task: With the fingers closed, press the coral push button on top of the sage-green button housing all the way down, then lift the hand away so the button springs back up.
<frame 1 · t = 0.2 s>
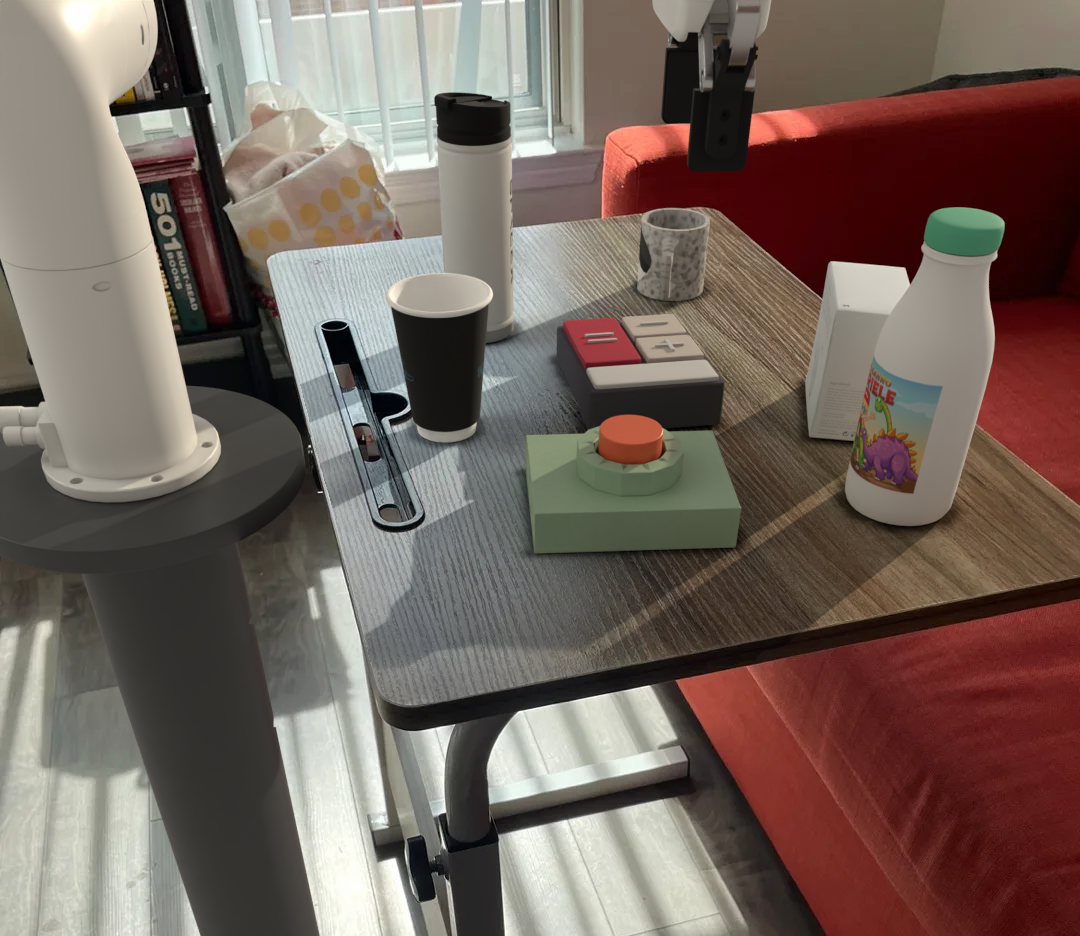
hand: (700, 144, 65), 24 cm above the table, tool pointing down, fingers open, 9 cm apart
travel mug: (479, 333, 104), on the table
milk bottle: (895, 503, 82), on the table
calculator: (634, 392, 95), on the table
dixie cup: (447, 430, 90), on the table
button housing: (626, 508, 81), on the table
push button: (630, 440, 77), point 5 cm above the table, slide at 0.1 cm
cosmetics box: (845, 414, 92), on the table
mug: (667, 296, 111), on the table
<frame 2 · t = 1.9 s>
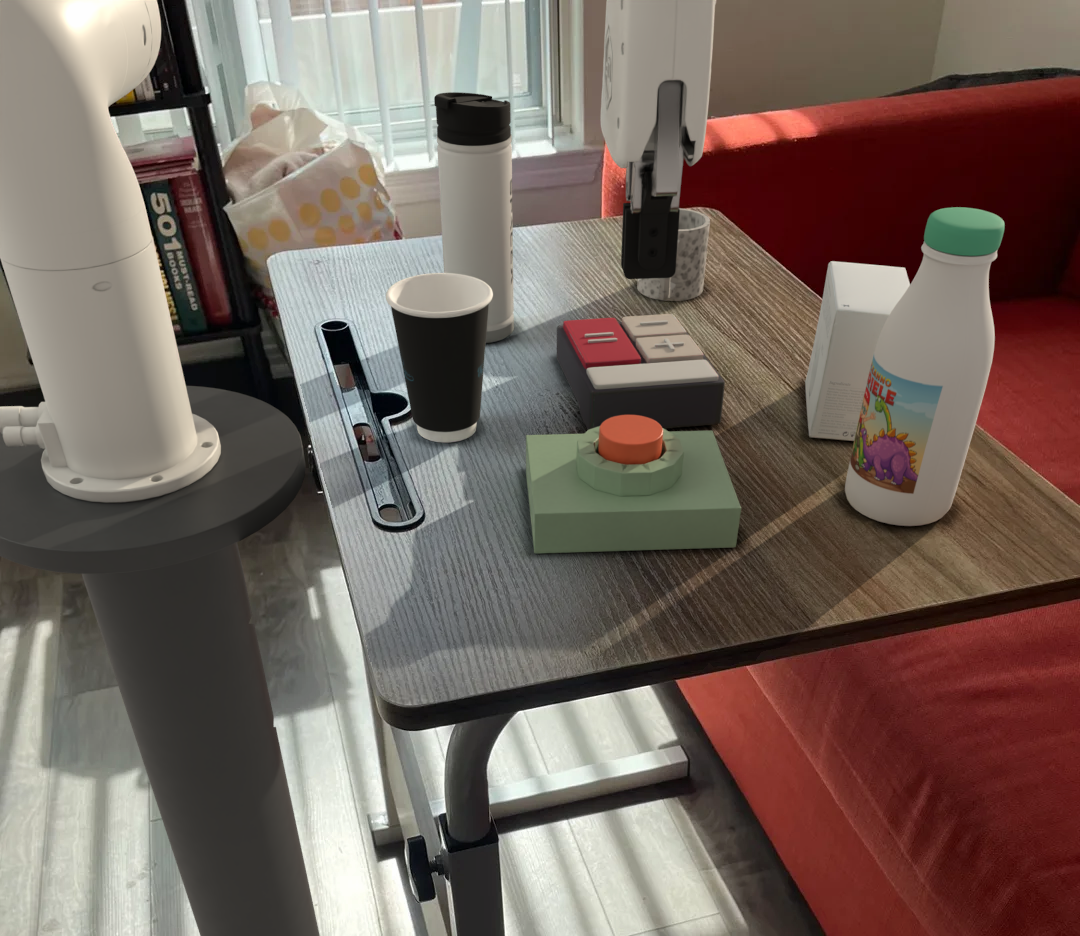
hand: (647, 273, 69), 17 cm above the table, tool pointing down, fingers closed
nothing on the table moved.
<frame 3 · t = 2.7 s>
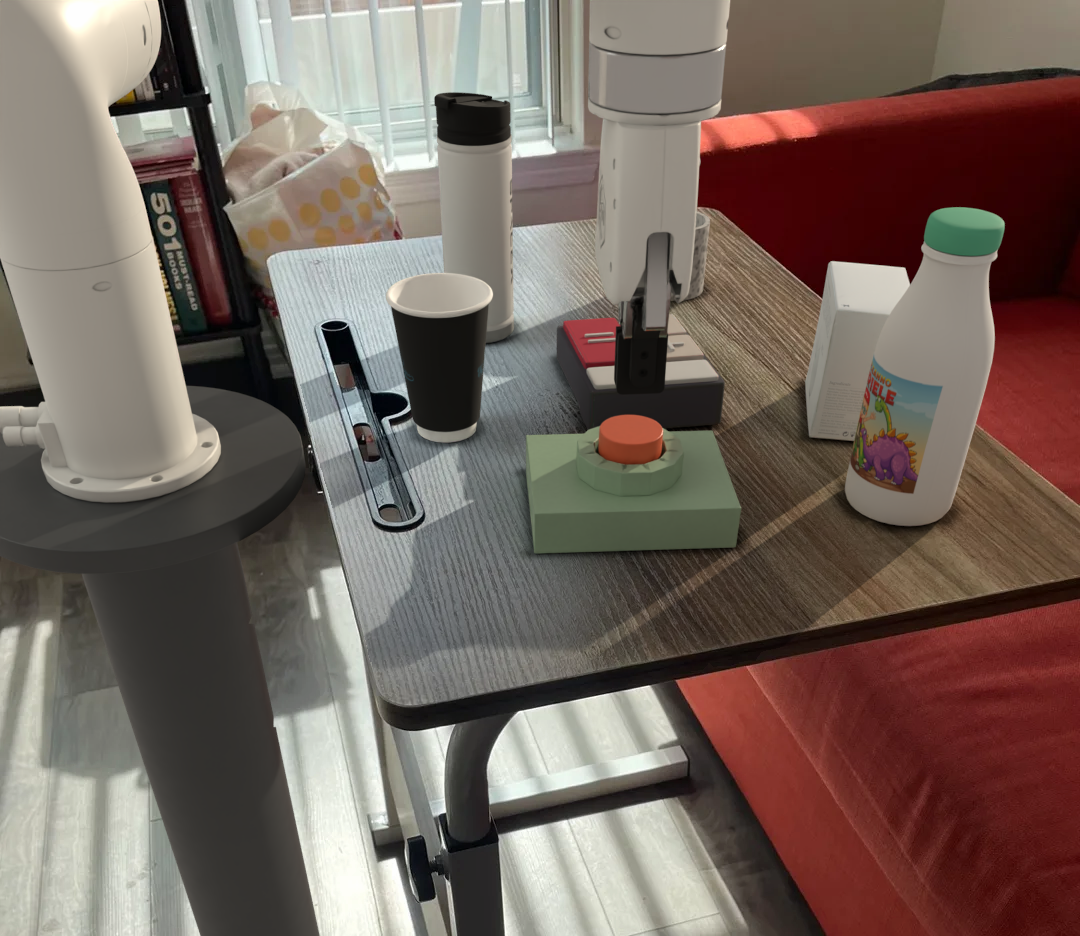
hand: (638, 388, 74), 9 cm above the table, tool pointing down, fingers closed
nothing on the table moved.
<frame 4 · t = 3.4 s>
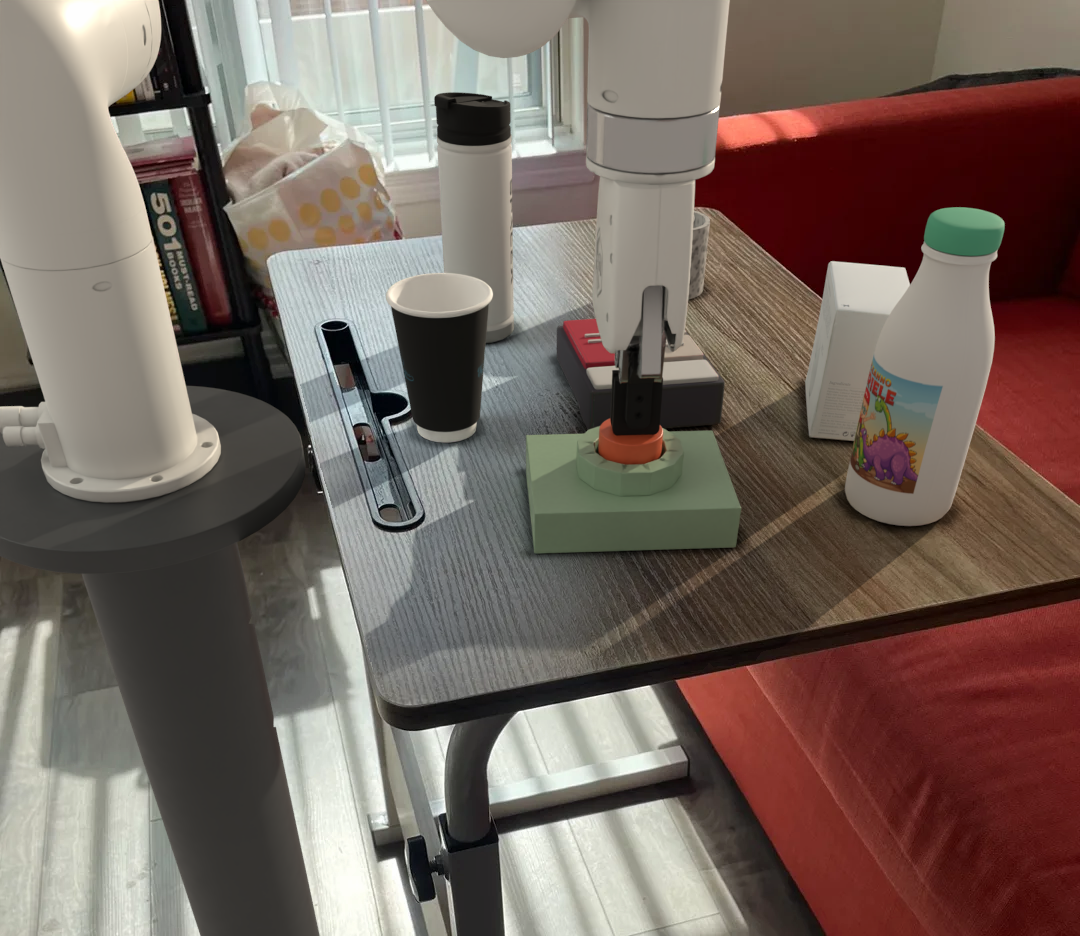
hand: (634, 429, 76), 6 cm above the table, tool pointing down, fingers closed
push button: (630, 441, 77), point 5 cm above the table, slide at 0.0 cm, touching gripper
everything else where it was.
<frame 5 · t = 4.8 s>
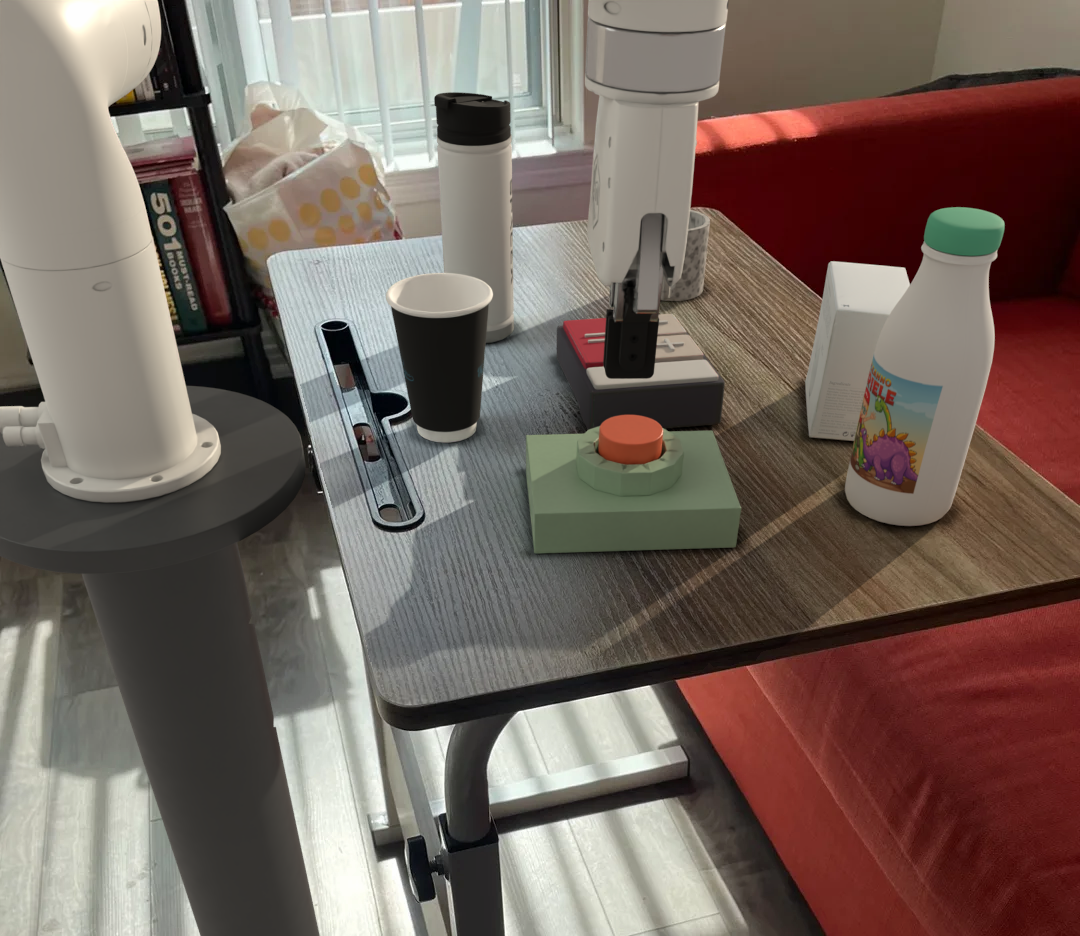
hand: (627, 372, 74), 10 cm above the table, tool pointing down, fingers closed
push button: (630, 440, 77), point 5 cm above the table, slide at 0.1 cm
everything else where it was.
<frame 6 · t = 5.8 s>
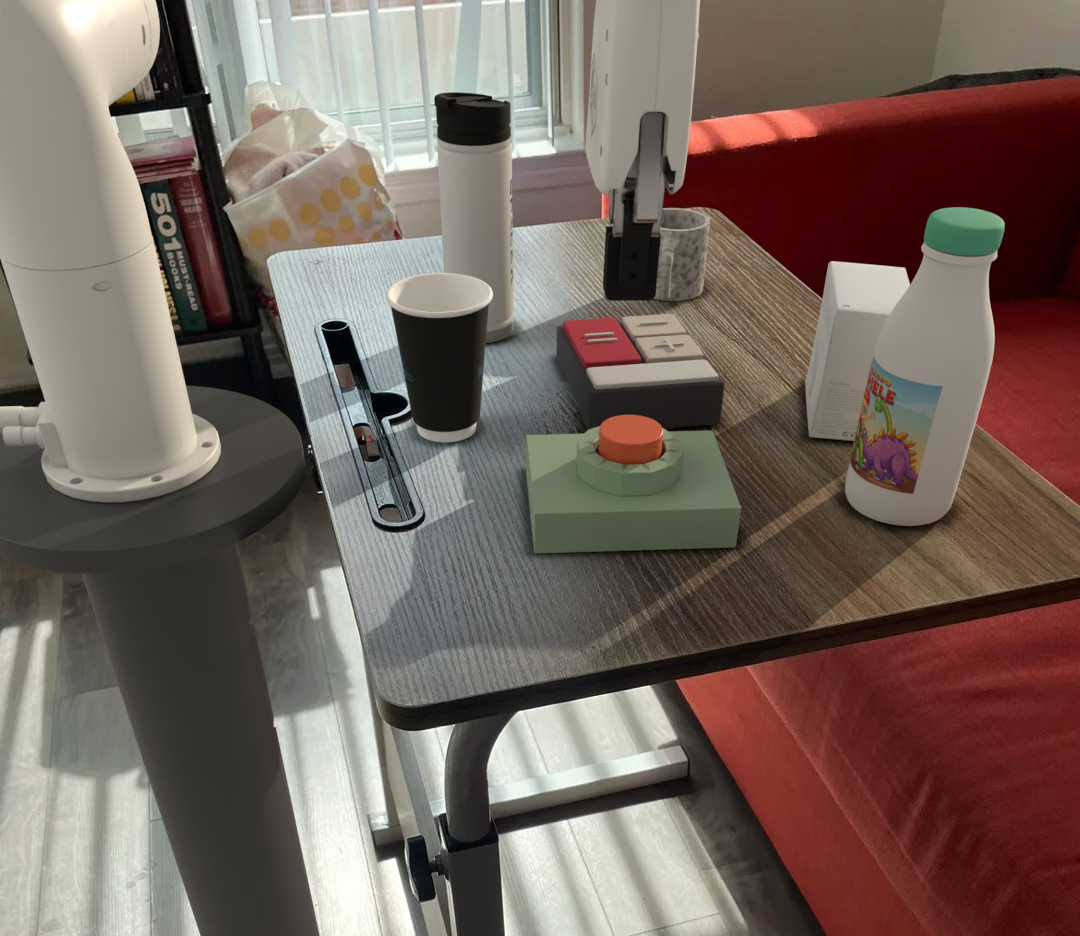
hand: (628, 295, 71), 15 cm above the table, tool pointing down, fingers closed
nothing on the table moved.
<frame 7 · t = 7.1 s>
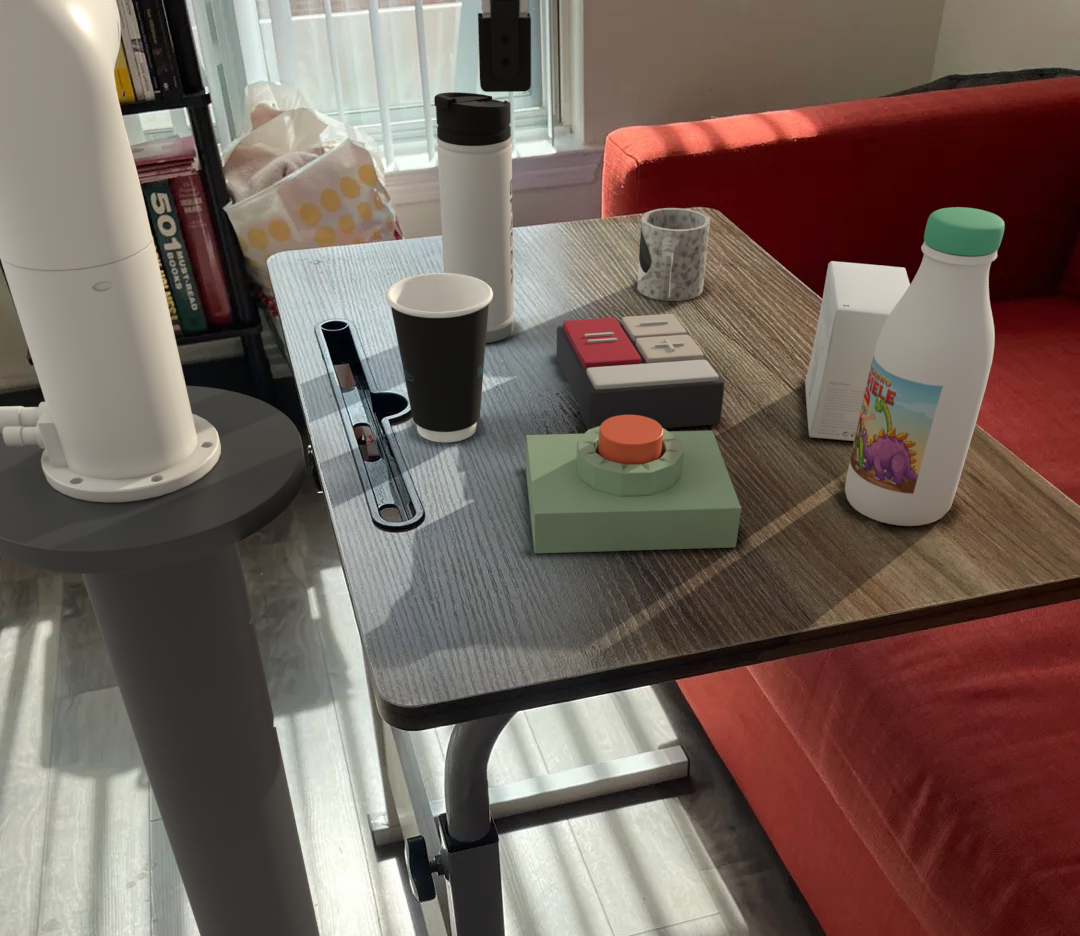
hand: (505, 87, 71), 25 cm above the table, tool pointing down, fingers closed
nothing on the table moved.
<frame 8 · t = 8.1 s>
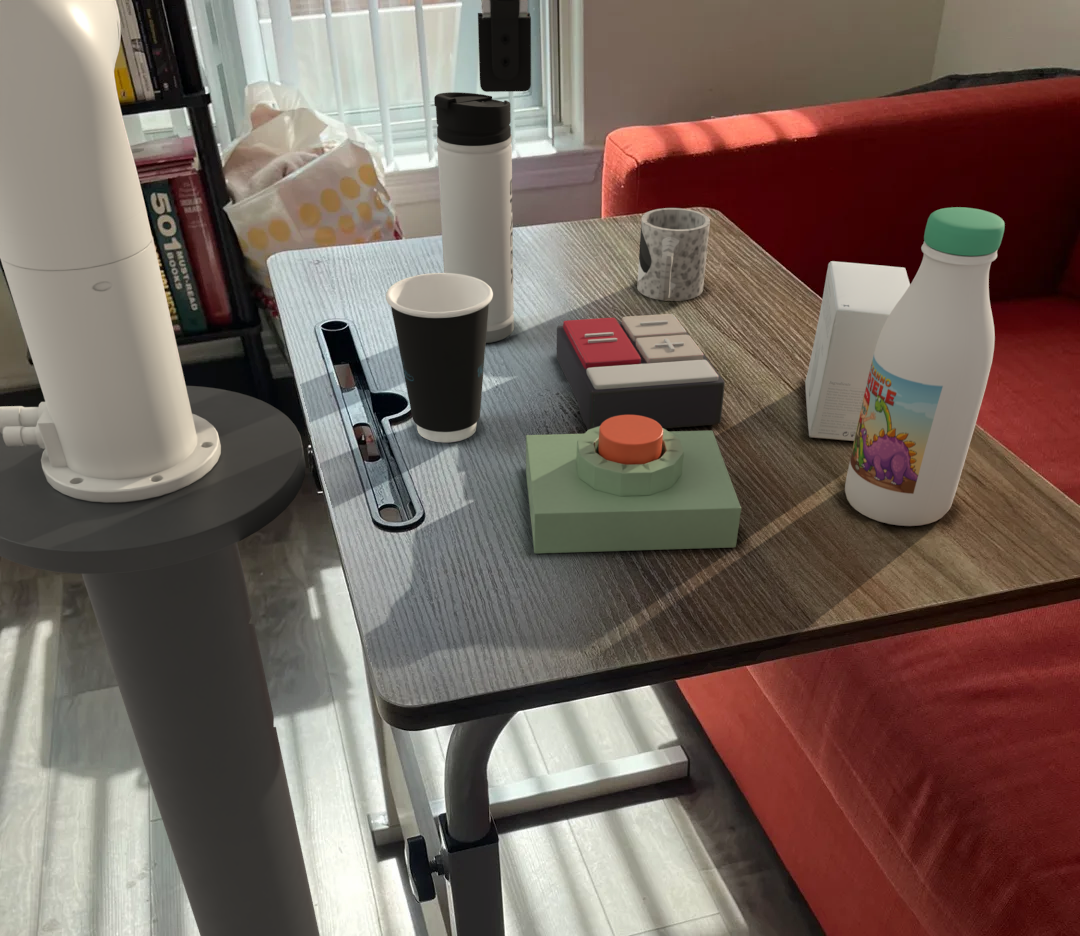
hand: (505, 87, 71), 25 cm above the table, tool pointing down, fingers closed
nothing on the table moved.
at the end: push button pushed in 1.1 cm at the most during the clip, back to where it started at the end; push button slide at 0.1 cm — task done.
